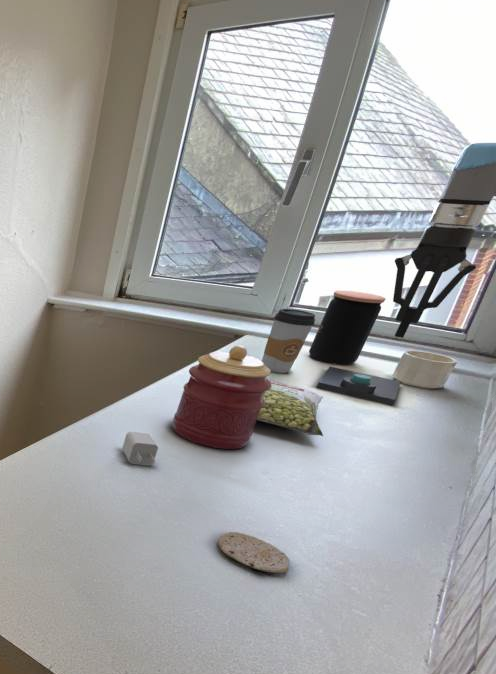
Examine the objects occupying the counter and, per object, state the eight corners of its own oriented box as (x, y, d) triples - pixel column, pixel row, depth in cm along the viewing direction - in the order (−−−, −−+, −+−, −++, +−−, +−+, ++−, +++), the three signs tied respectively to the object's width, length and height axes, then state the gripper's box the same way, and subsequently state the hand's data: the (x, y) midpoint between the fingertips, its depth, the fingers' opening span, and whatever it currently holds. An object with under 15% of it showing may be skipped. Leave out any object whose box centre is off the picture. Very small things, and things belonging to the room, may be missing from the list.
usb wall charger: (145, 454, 97) (151, 433, 95) (157, 473, 91) (164, 452, 89) (121, 451, 97) (127, 431, 95) (131, 470, 91) (138, 449, 89)
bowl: (442, 383, 138) (457, 357, 135) (441, 393, 132) (457, 365, 128) (392, 373, 144) (405, 347, 141) (389, 381, 138) (403, 355, 134)
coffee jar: (326, 352, 159) (353, 290, 151) (364, 364, 149) (396, 299, 141) (297, 354, 156) (324, 290, 148) (335, 366, 147) (366, 299, 139)
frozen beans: (203, 388, 110) (220, 359, 128) (193, 414, 112) (211, 382, 130) (331, 422, 99) (330, 385, 117) (316, 450, 102) (317, 409, 120)
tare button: (368, 383, 128) (372, 376, 127) (367, 386, 126) (370, 379, 125) (351, 379, 130) (354, 372, 129) (349, 382, 128) (353, 375, 127)
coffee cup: (265, 373, 140) (288, 315, 133) (249, 362, 147) (270, 307, 140) (300, 376, 139) (325, 317, 132) (282, 365, 146) (305, 309, 139)
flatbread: (205, 547, 73) (208, 540, 72) (234, 530, 77) (237, 524, 76) (272, 583, 67) (275, 577, 66) (300, 564, 70) (303, 557, 70)
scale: (398, 386, 134) (404, 375, 133) (392, 406, 122) (398, 393, 121) (327, 371, 143) (332, 360, 142) (315, 388, 131) (320, 376, 130)
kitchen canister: (155, 424, 108) (182, 337, 100) (204, 417, 112) (233, 333, 105) (212, 454, 97) (248, 360, 90) (264, 446, 101) (302, 355, 94)
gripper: (409, 224, 116) (360, 332, 126) (497, 230, 108) (438, 345, 118) (410, 222, 121) (363, 327, 131) (495, 228, 113) (438, 339, 123)
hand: (399, 335), depth 125 cm, fingers closed
